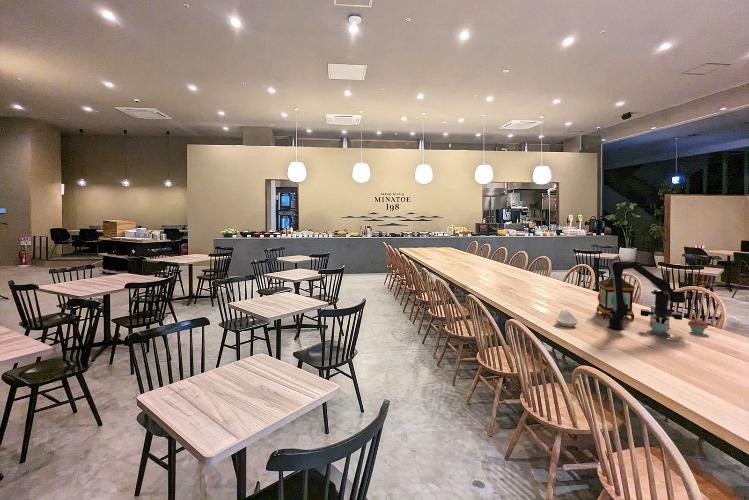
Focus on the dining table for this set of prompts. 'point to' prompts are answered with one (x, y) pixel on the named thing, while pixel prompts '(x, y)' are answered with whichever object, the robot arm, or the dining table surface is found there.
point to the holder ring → (657, 334)
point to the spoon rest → (566, 319)
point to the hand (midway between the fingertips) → (660, 329)
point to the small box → (659, 317)
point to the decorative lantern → (608, 298)
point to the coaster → (668, 338)
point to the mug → (659, 328)
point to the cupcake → (697, 325)
